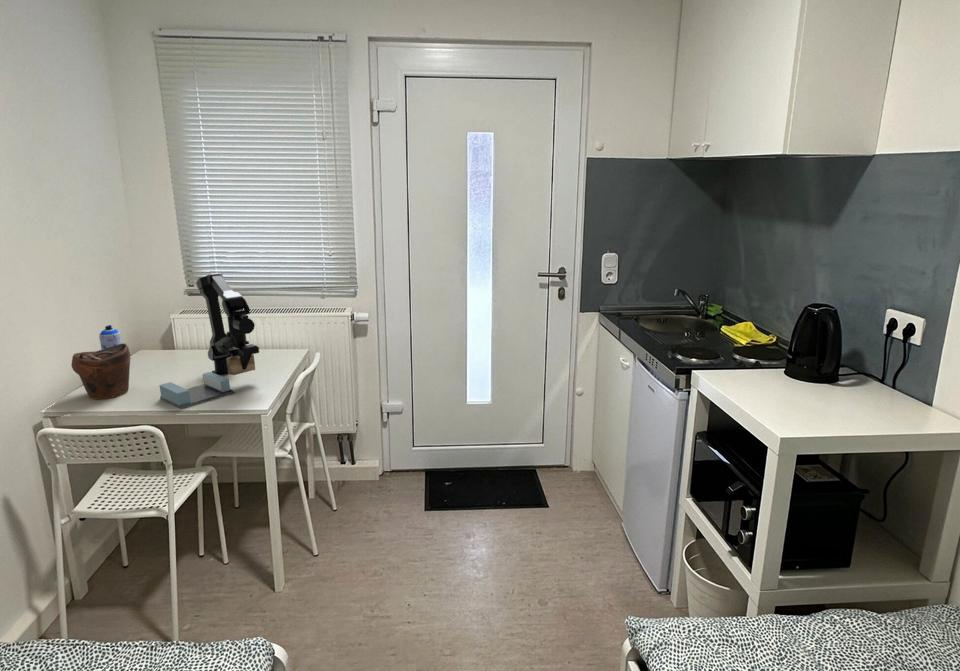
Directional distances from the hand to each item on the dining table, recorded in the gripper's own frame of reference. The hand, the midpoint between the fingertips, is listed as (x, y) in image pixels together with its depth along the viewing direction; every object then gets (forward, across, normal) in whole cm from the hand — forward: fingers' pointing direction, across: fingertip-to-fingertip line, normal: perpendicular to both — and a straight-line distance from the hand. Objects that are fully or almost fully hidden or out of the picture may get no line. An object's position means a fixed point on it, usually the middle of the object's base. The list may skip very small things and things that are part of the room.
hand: (241, 368), depth 240 cm
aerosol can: (+7, -55, -25) cm, 61 cm away
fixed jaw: (+6, -2, -25) cm, 26 cm away
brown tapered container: (+7, -31, -37) cm, 49 cm away
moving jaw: (+5, -2, -10) cm, 11 cm away
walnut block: (+1, 0, 0) cm, 1 cm away
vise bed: (+7, -2, -17) cm, 18 cm away
